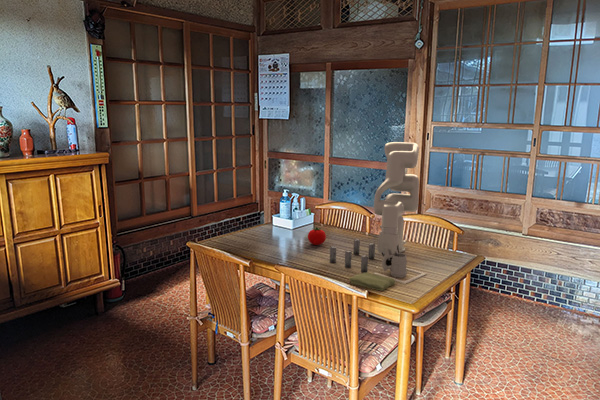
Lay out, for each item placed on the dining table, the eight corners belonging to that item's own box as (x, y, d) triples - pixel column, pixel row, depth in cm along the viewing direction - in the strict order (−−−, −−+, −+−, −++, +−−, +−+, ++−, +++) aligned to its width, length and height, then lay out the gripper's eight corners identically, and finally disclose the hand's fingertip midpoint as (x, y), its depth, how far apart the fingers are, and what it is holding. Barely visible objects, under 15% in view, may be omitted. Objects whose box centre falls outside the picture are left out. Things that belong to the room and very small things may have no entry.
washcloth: (362, 275, 217) (363, 269, 216) (396, 284, 206) (396, 278, 205) (347, 283, 207) (347, 276, 206) (381, 293, 196) (381, 286, 195)
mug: (406, 278, 212) (408, 253, 210) (380, 276, 215) (381, 251, 213) (407, 273, 219) (408, 248, 217) (382, 270, 222) (383, 246, 220)
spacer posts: (355, 252, 250) (356, 238, 248) (391, 263, 234) (392, 247, 232) (328, 262, 235) (328, 246, 233) (364, 273, 218) (365, 257, 217)
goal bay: (395, 265, 230) (395, 264, 230) (426, 274, 217) (426, 273, 217) (373, 274, 217) (373, 273, 217) (405, 284, 205) (405, 283, 205)
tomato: (322, 248, 258) (323, 230, 256) (305, 246, 262) (305, 229, 260) (327, 243, 268) (328, 226, 266) (310, 241, 271) (311, 224, 269)
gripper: (371, 228, 221) (370, 264, 225) (398, 234, 211) (396, 272, 214) (381, 225, 226) (379, 261, 230) (407, 231, 216) (405, 268, 219)
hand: (387, 266), depth 222 cm, fingers closed
